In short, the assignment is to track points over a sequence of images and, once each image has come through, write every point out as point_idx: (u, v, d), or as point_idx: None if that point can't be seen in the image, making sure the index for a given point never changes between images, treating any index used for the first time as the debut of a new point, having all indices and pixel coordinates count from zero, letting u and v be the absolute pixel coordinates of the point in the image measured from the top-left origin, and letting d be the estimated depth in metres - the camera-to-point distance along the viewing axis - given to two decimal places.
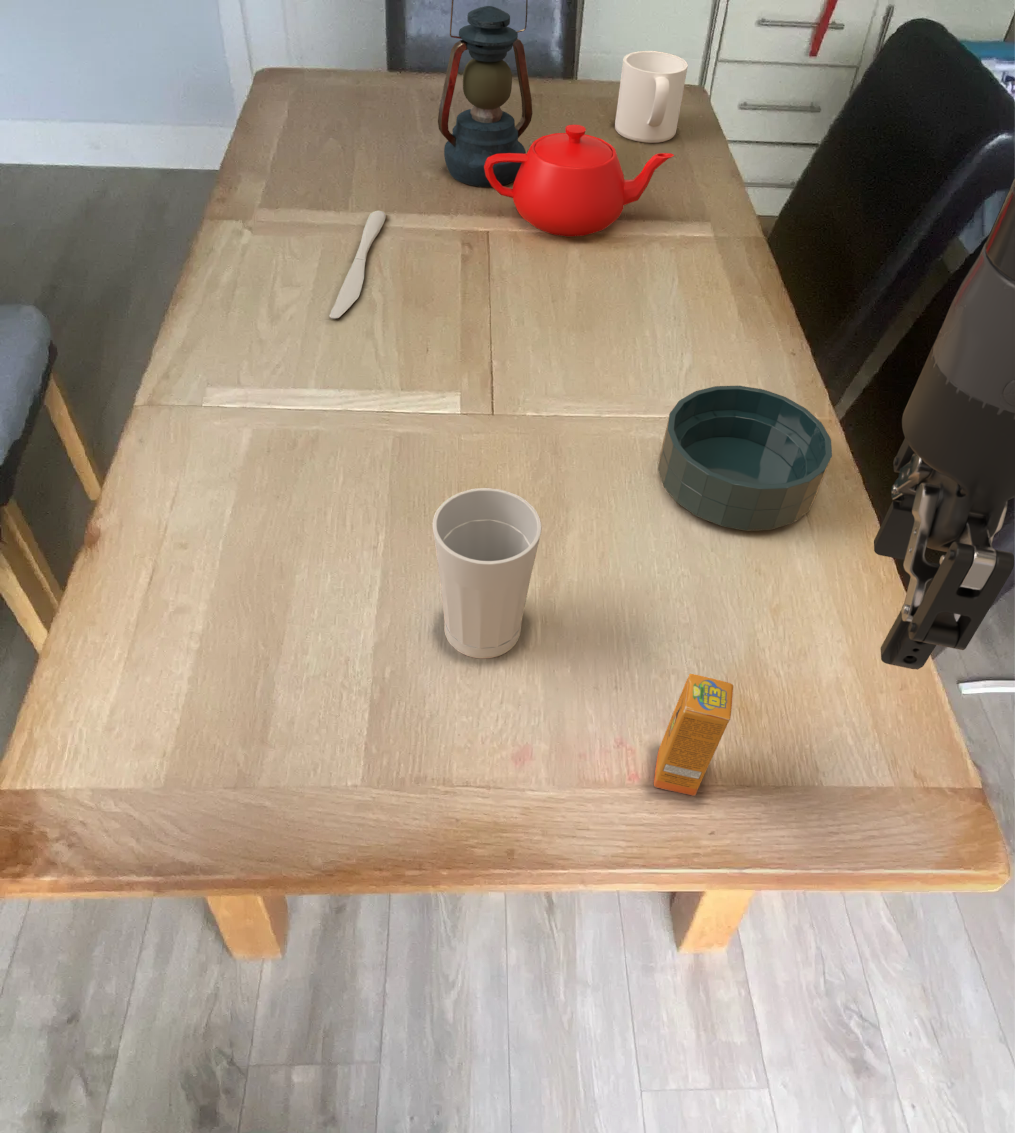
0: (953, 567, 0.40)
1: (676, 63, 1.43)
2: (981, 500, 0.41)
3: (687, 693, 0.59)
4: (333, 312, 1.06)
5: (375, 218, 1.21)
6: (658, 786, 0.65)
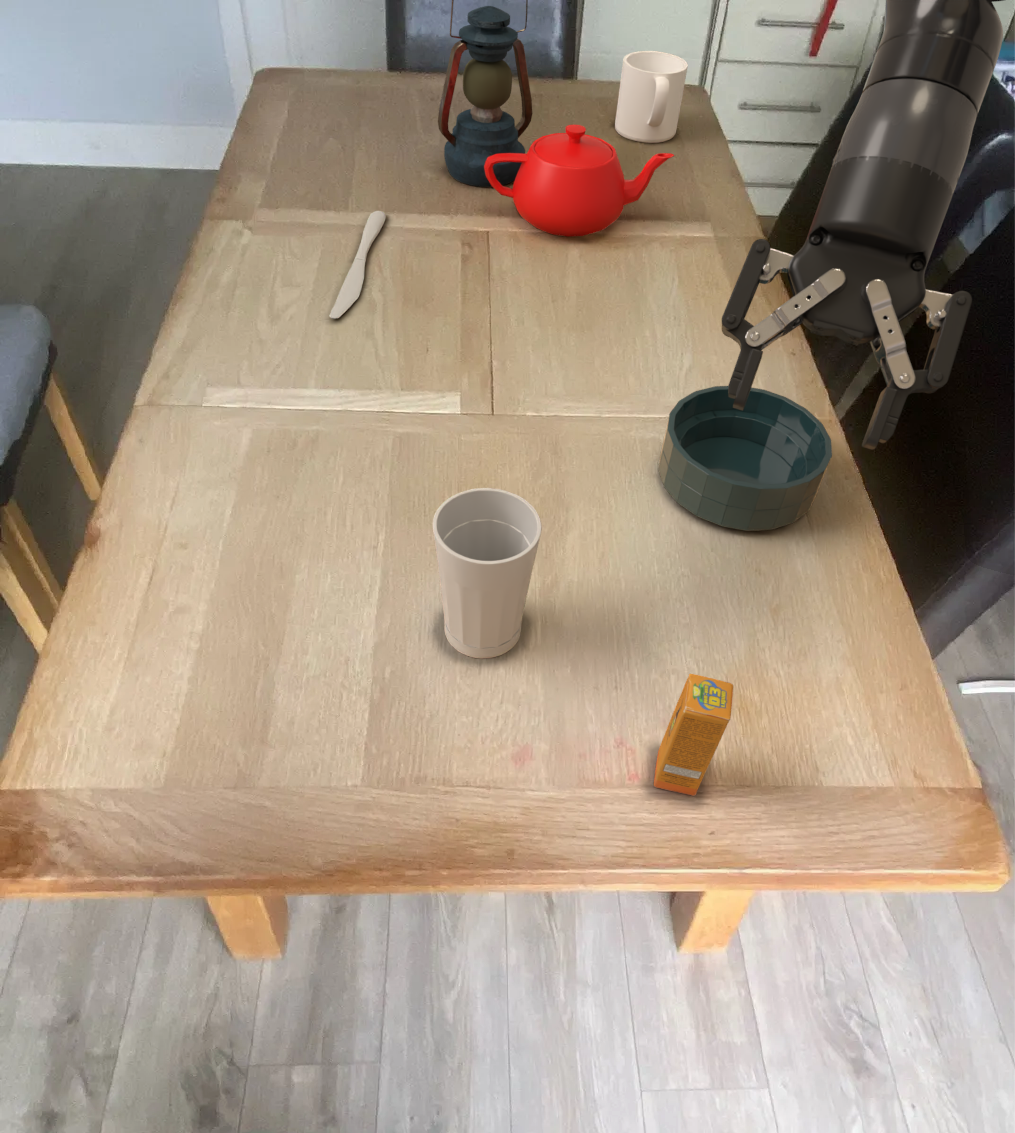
0: None
1: (676, 63, 1.43)
2: None
3: (687, 693, 0.59)
4: (333, 312, 1.06)
5: (375, 218, 1.21)
6: (658, 786, 0.65)
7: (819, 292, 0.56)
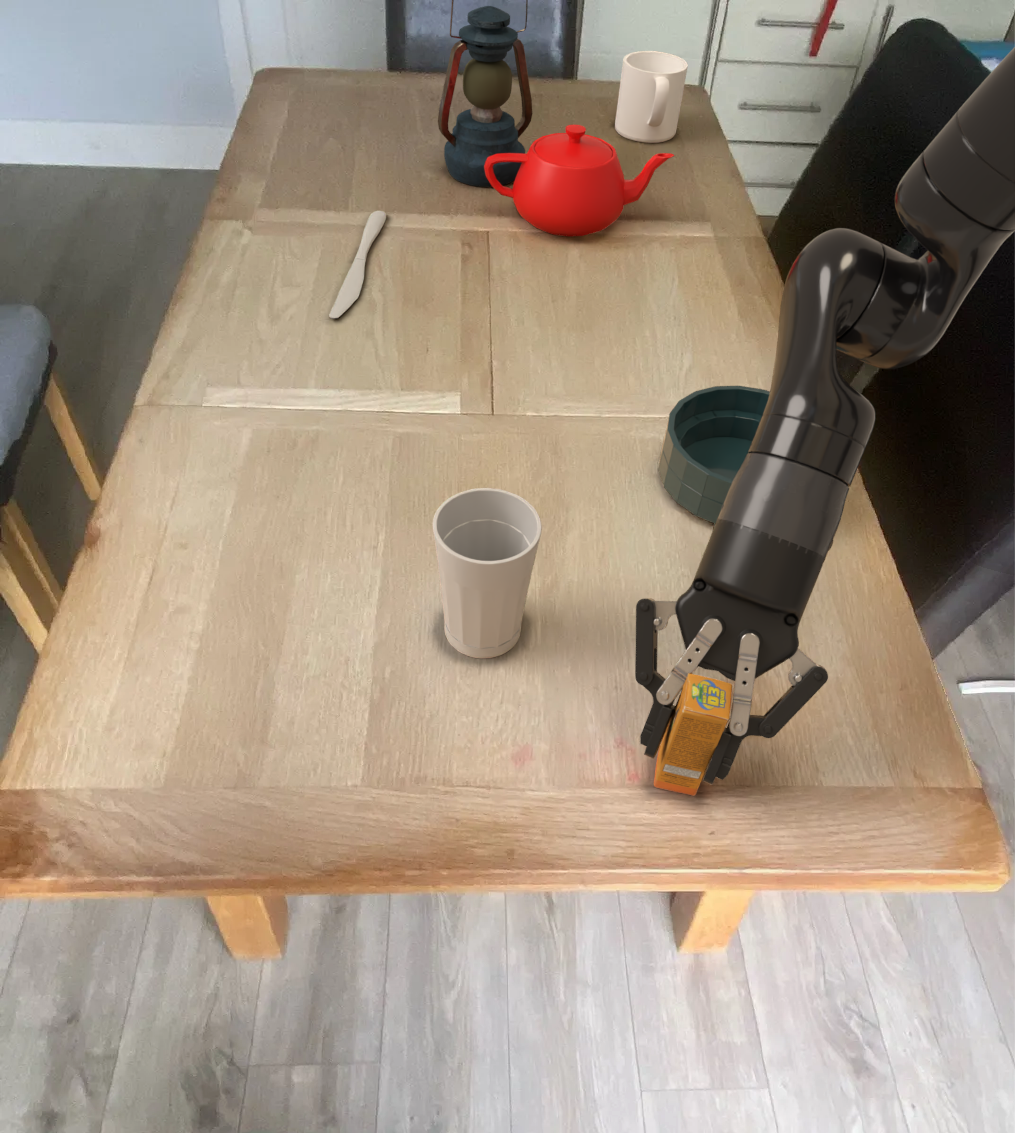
0: None
1: (676, 63, 1.43)
2: None
3: (686, 693, 0.59)
4: (333, 312, 1.06)
5: (376, 218, 1.21)
6: (658, 786, 0.65)
7: (704, 643, 0.60)
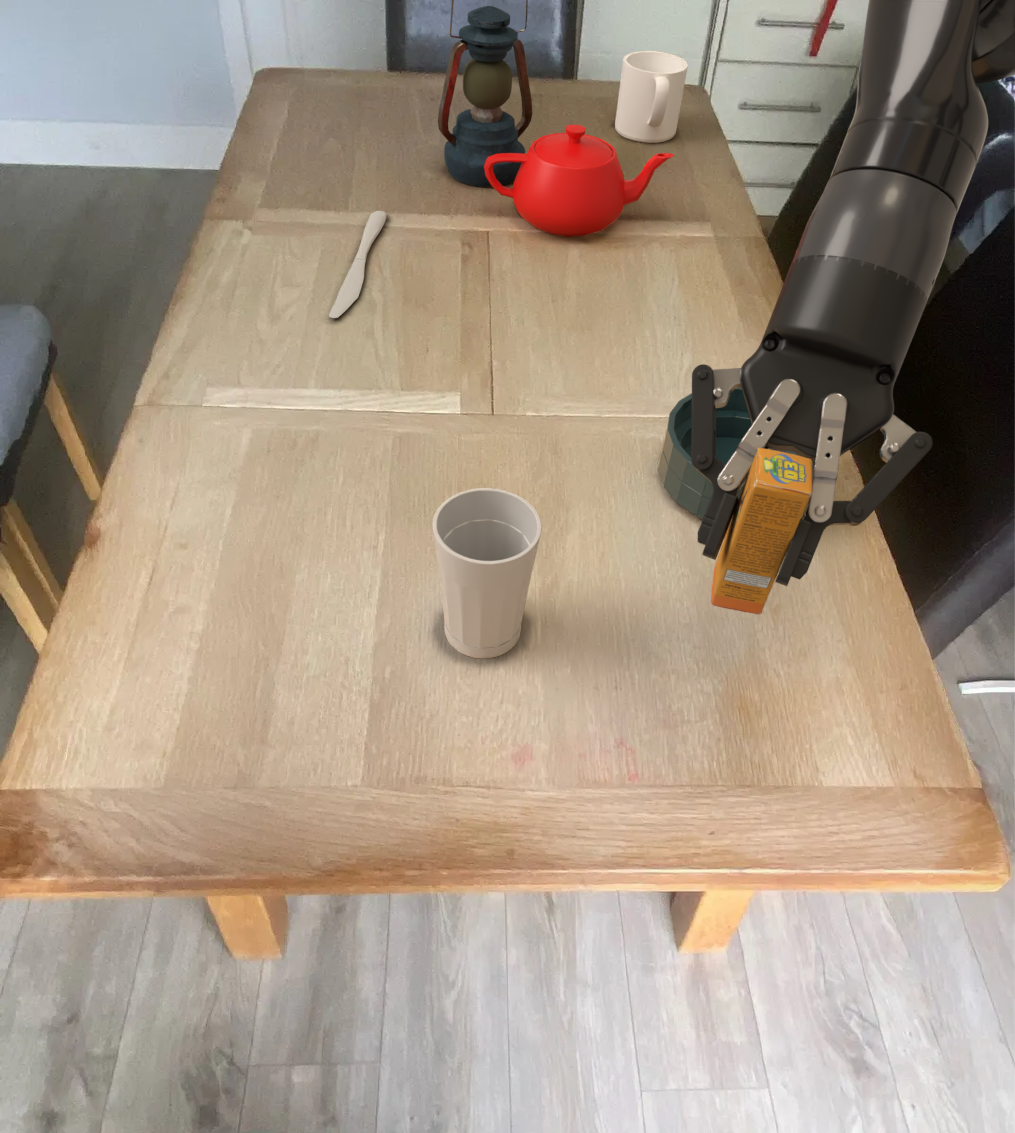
0: None
1: (676, 63, 1.43)
2: None
3: (757, 468, 0.48)
4: (333, 312, 1.06)
5: (376, 218, 1.21)
6: (716, 603, 0.54)
7: (778, 410, 0.49)
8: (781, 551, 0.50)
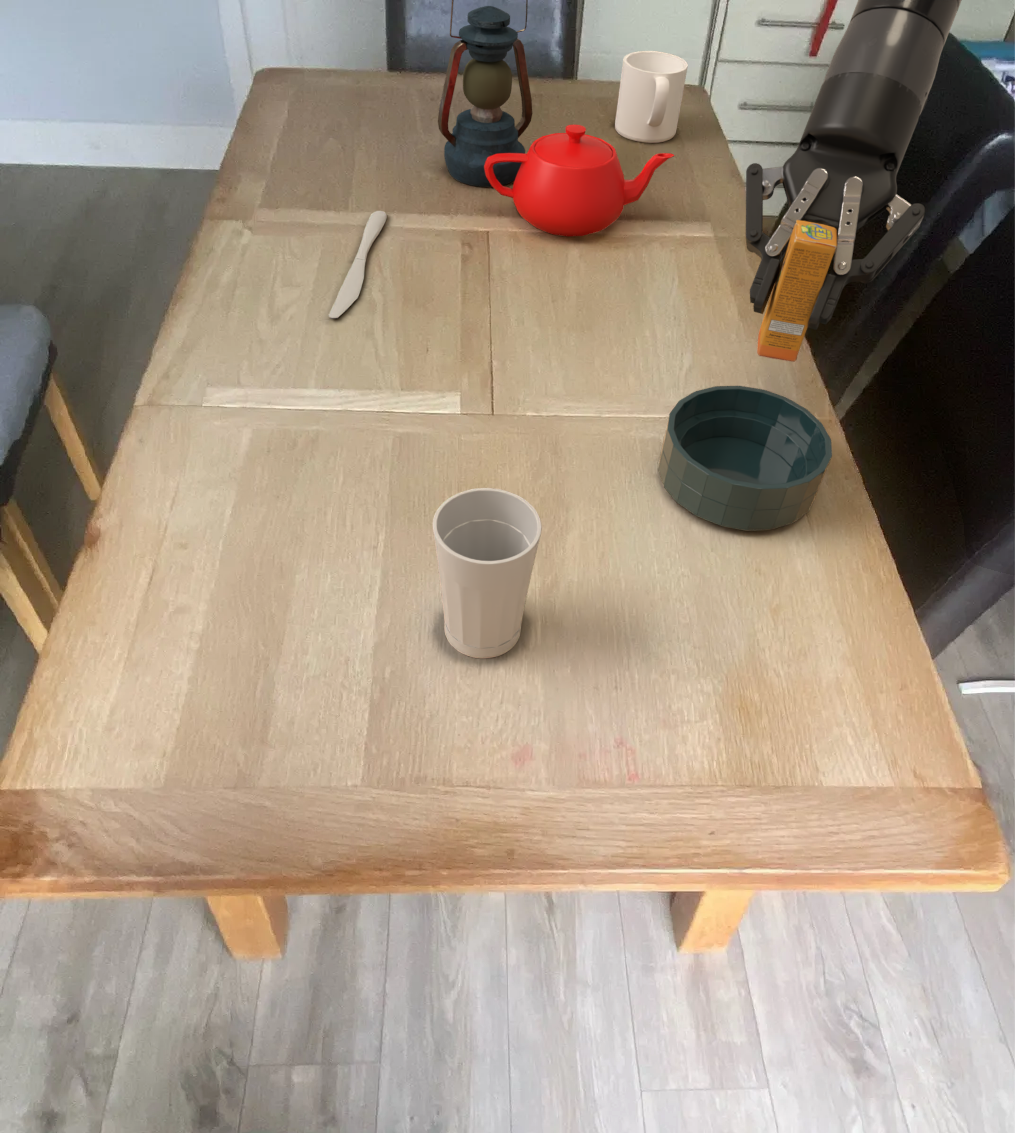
0: None
1: (676, 63, 1.43)
2: None
3: (796, 231, 0.66)
4: (333, 312, 1.06)
5: (376, 218, 1.21)
6: (761, 353, 0.72)
7: (811, 192, 0.67)
8: (812, 300, 0.68)
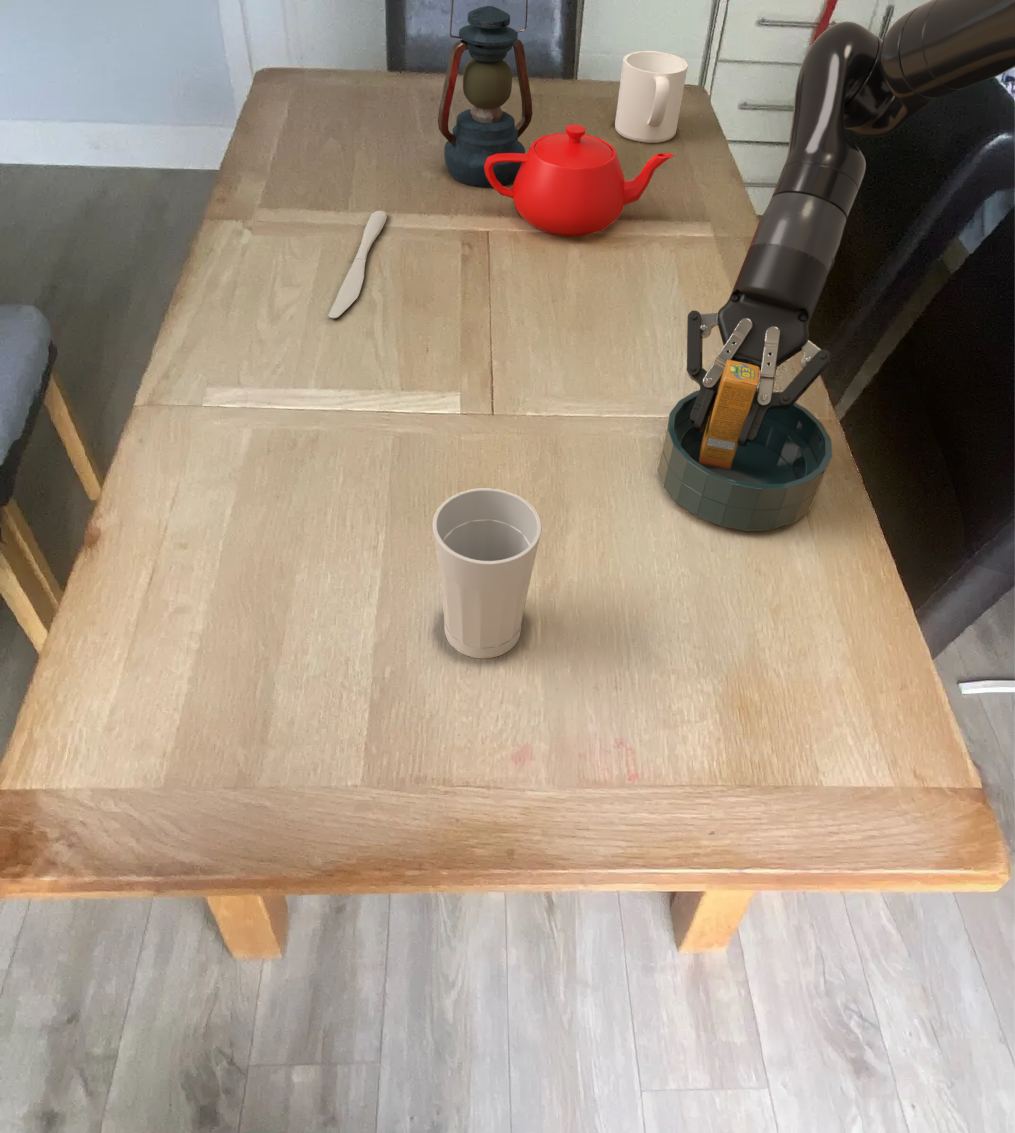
0: None
1: (676, 63, 1.43)
2: None
3: (726, 371, 0.81)
4: (332, 311, 1.06)
5: (377, 218, 1.21)
6: (702, 462, 0.86)
7: (739, 337, 0.81)
8: (741, 424, 0.82)
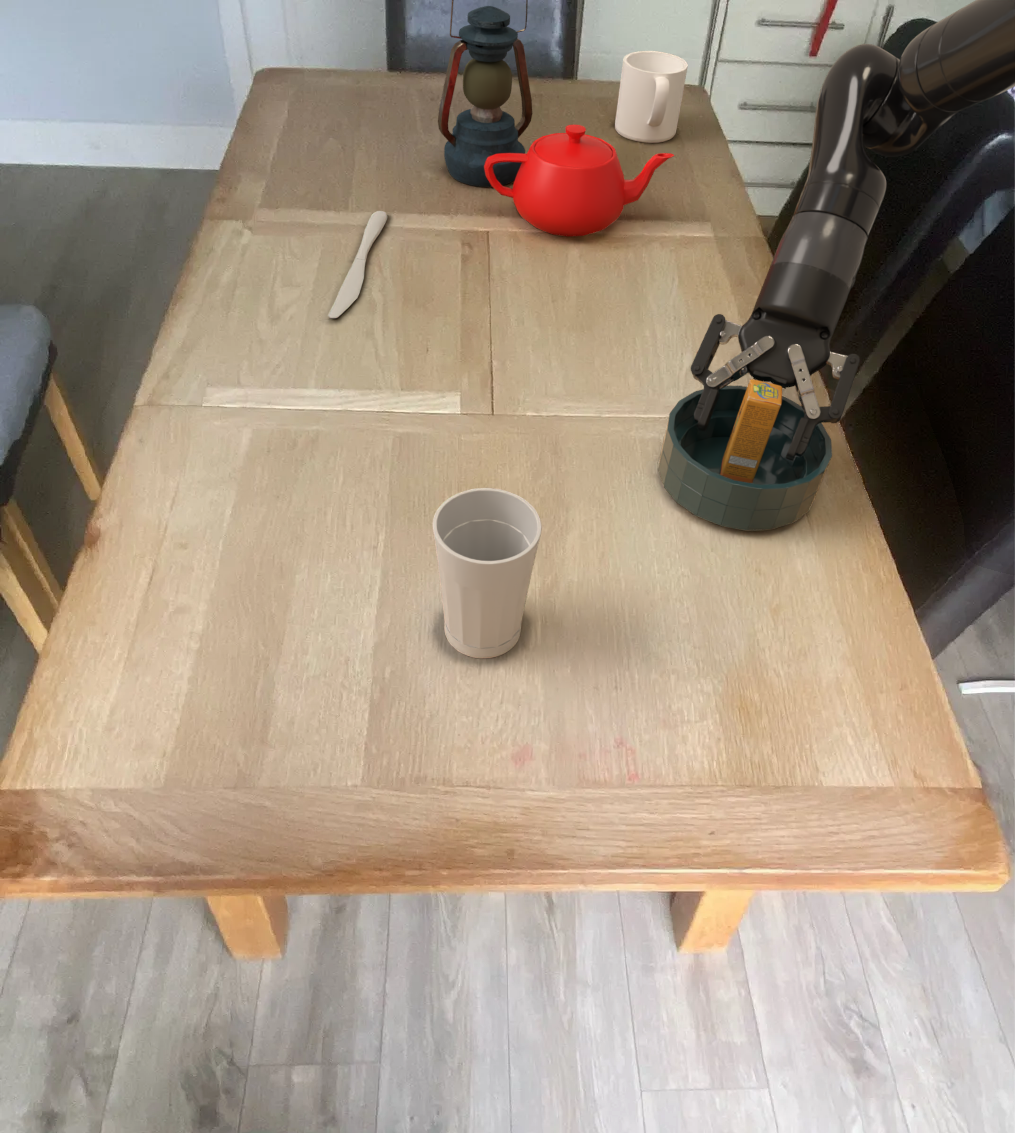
0: None
1: (676, 63, 1.43)
2: None
3: (749, 390, 0.81)
4: (332, 312, 1.06)
5: (377, 218, 1.21)
6: None
7: (756, 351, 0.82)
8: (763, 442, 0.83)
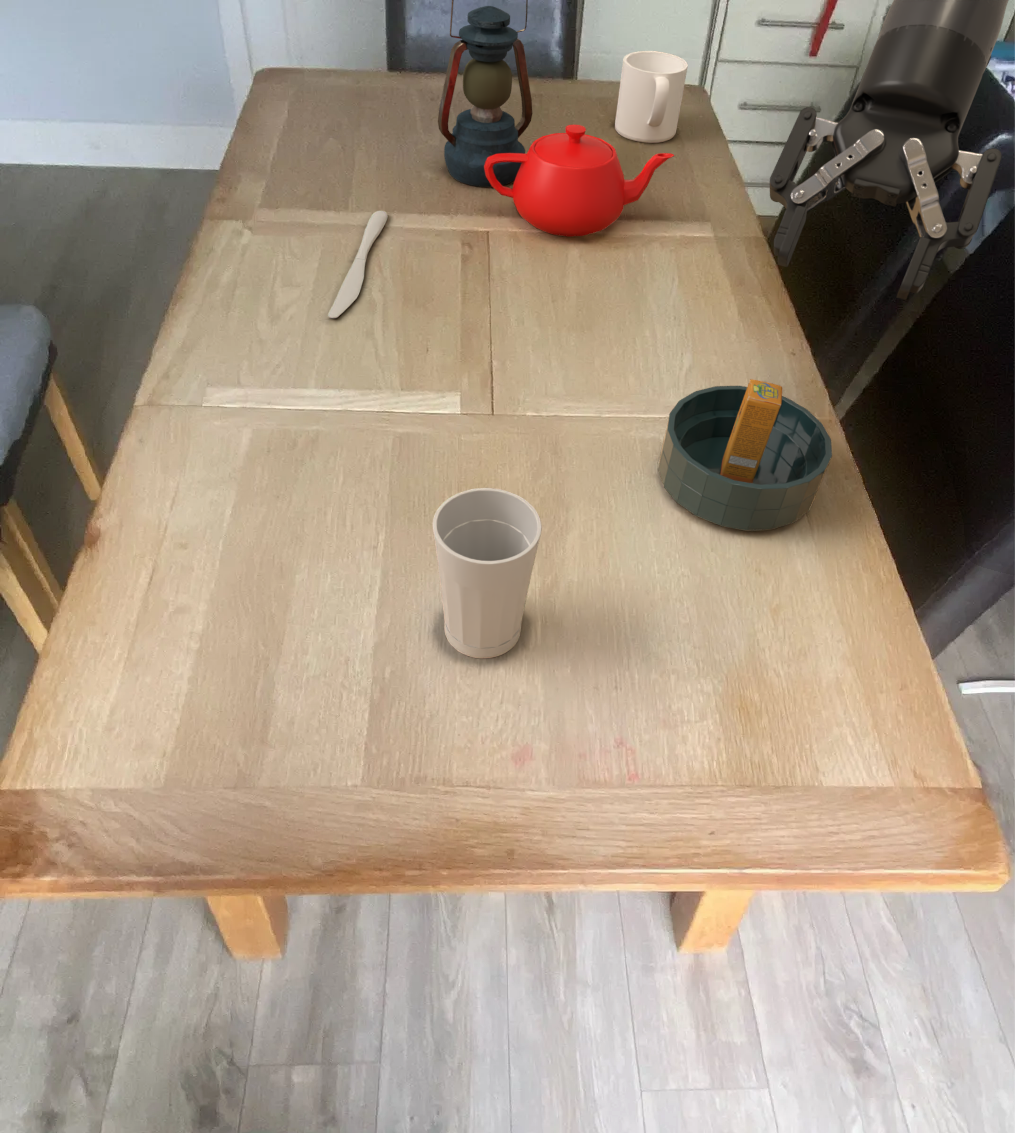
0: None
1: (676, 63, 1.43)
2: None
3: (749, 390, 0.81)
4: (332, 311, 1.06)
5: (377, 218, 1.21)
6: None
7: (860, 151, 0.62)
8: (763, 442, 0.83)
